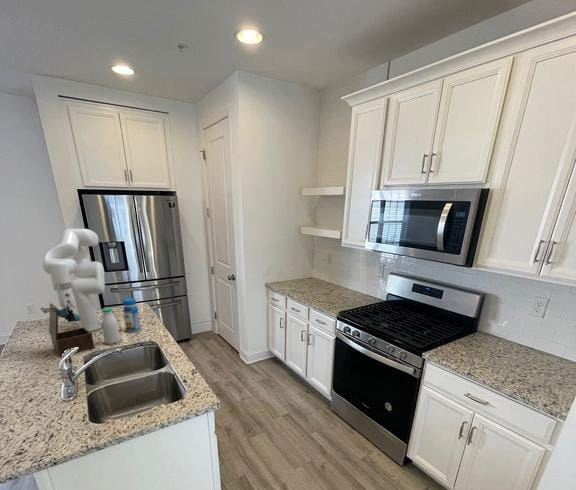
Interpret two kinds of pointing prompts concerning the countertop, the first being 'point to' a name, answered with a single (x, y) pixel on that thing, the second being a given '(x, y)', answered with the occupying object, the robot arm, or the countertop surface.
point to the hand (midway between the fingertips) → (70, 319)
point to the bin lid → (52, 320)
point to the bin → (73, 340)
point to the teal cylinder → (63, 314)
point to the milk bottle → (110, 327)
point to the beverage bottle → (131, 315)
